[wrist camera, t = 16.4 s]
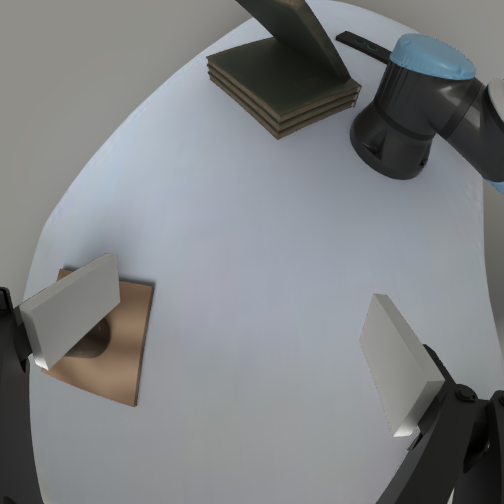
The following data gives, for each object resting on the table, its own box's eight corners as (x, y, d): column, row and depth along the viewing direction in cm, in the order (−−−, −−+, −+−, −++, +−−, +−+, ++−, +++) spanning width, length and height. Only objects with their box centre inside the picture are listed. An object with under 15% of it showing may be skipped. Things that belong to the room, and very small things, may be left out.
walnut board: (63, 270, 37) (59, 268, 36) (154, 288, 36) (152, 286, 35) (45, 371, 31) (41, 371, 30) (136, 405, 31) (133, 406, 30)
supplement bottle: (117, 317, 34) (66, 298, 22) (105, 366, 31) (50, 365, 20) (78, 302, 34) (24, 278, 23) (66, 347, 32) (9, 338, 21)
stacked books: (353, 108, 49) (389, 2, 26) (276, 142, 45) (292, 4, 22) (281, 55, 55) (290, -36, 32) (208, 80, 51) (197, -26, 28)
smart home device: (346, 30, 61) (408, 60, 57) (345, 34, 62) (406, 65, 58) (335, 36, 58) (401, 68, 54) (334, 40, 60) (399, 73, 56)
